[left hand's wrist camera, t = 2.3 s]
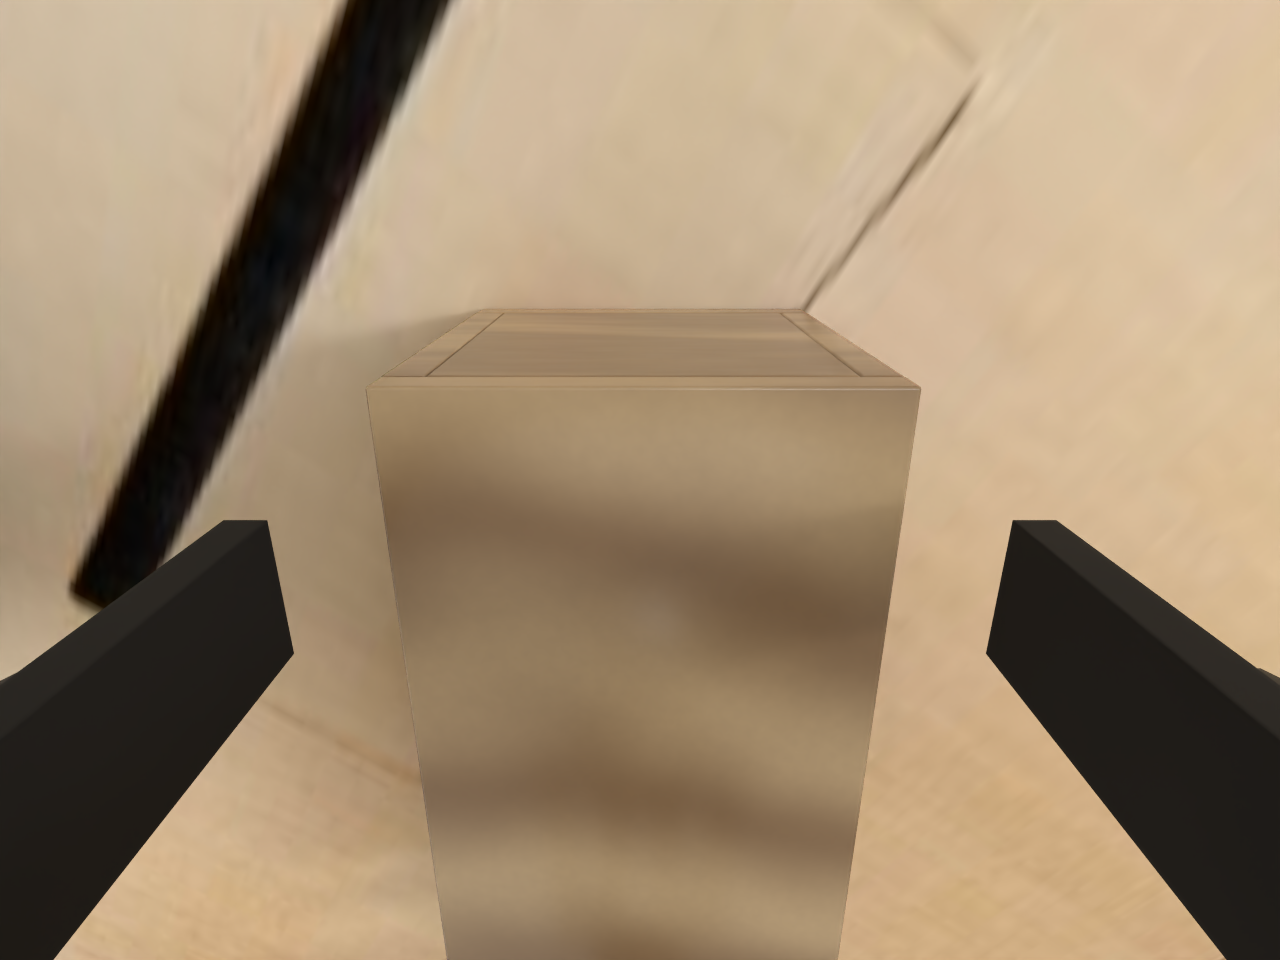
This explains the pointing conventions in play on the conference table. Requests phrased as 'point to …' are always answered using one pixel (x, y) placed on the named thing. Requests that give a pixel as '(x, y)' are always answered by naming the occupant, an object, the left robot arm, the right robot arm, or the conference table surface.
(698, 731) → the cabinet
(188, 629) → the left robot arm
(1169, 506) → the conference table surface
